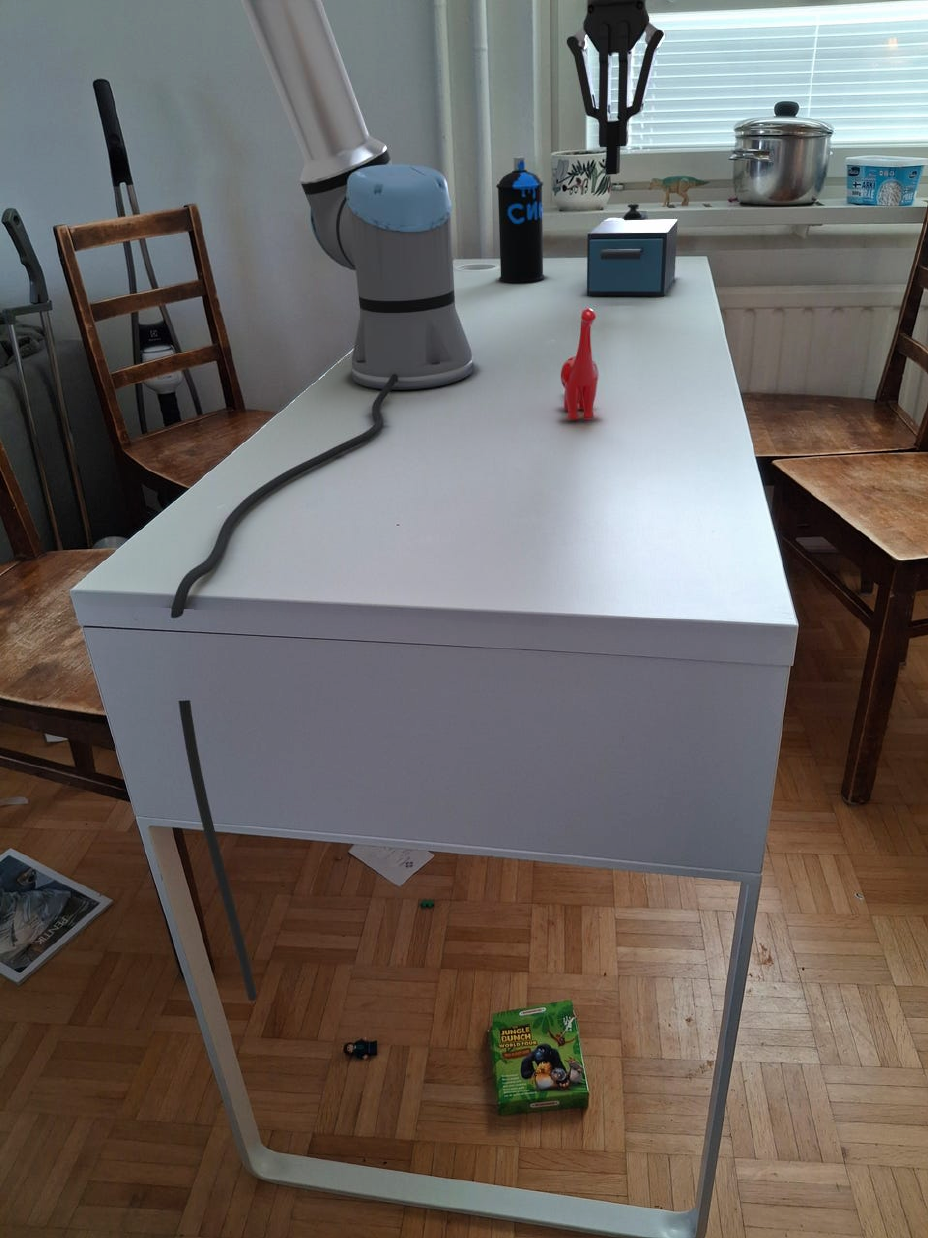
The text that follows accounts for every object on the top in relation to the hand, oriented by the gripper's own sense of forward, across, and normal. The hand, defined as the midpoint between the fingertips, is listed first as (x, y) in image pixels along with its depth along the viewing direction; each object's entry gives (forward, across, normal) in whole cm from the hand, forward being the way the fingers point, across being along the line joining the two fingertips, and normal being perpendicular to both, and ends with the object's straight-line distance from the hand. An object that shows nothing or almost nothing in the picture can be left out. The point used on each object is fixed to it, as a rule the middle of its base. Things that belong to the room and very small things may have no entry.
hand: (612, 173), depth 130 cm
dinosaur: (+20, -5, +48) cm, 52 cm away
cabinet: (+19, 0, -22) cm, 29 cm away
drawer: (+19, 0, -18) cm, 26 cm away
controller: (+20, +4, -52) cm, 55 cm away
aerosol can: (+20, +21, -29) cm, 41 cm away
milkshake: (+20, +6, -36) cm, 41 cm away
